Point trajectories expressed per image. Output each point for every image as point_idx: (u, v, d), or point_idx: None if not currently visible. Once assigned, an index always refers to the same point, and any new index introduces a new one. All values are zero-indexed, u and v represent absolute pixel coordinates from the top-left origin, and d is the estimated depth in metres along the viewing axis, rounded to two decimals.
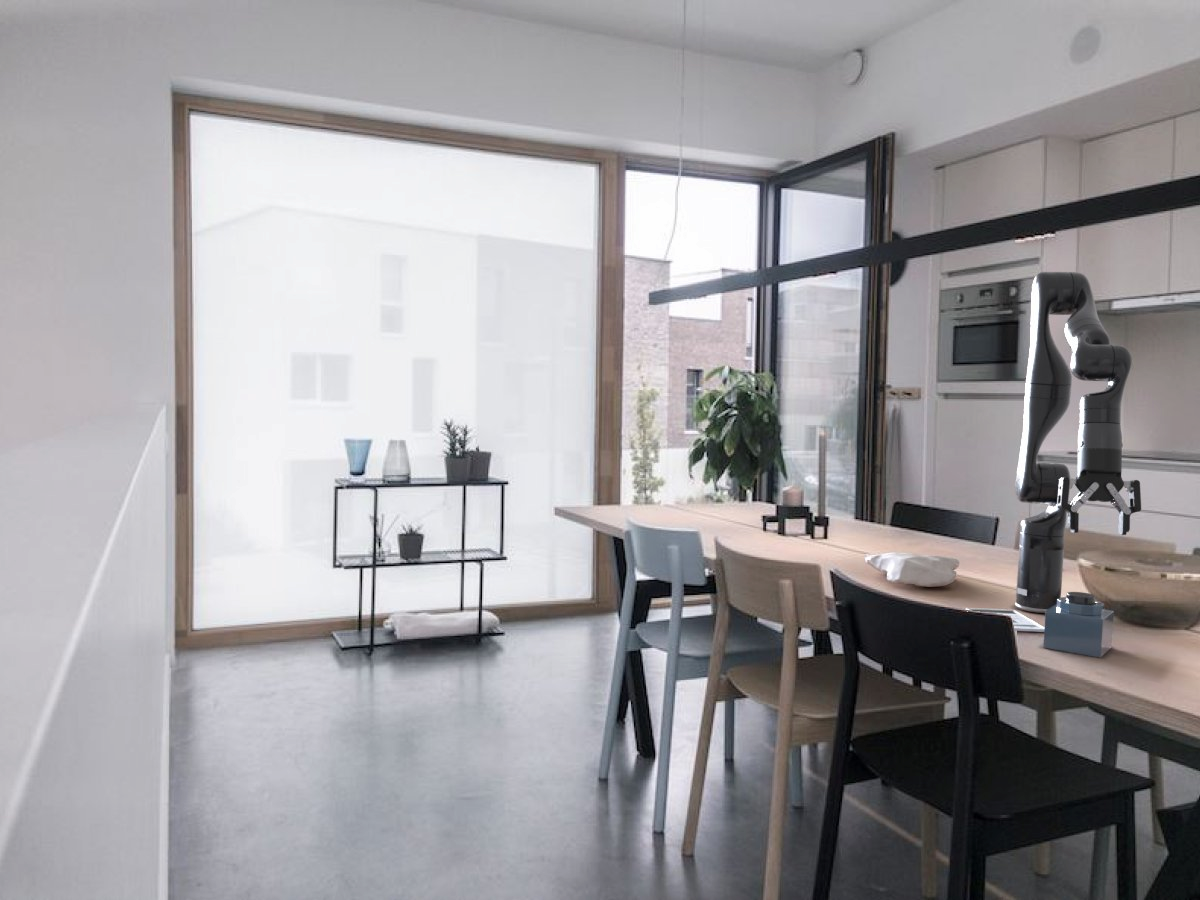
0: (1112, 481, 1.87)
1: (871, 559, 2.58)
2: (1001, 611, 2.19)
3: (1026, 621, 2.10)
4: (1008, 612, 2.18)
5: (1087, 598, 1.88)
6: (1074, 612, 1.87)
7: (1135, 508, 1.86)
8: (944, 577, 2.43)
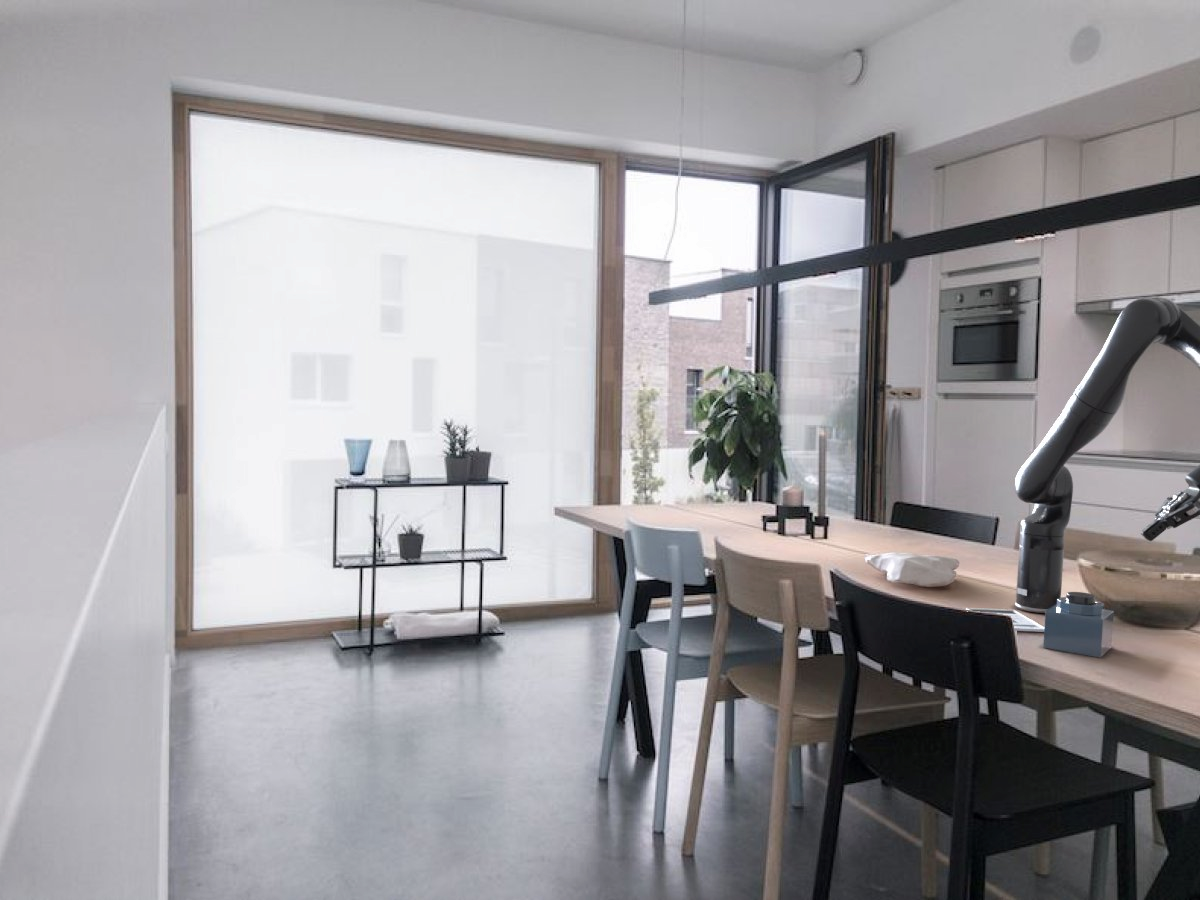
0: None
1: (871, 559, 2.58)
2: (1001, 611, 2.19)
3: (1026, 621, 2.10)
4: (1008, 612, 2.18)
5: (1087, 598, 1.88)
6: (1074, 612, 1.87)
7: None
8: (944, 577, 2.43)
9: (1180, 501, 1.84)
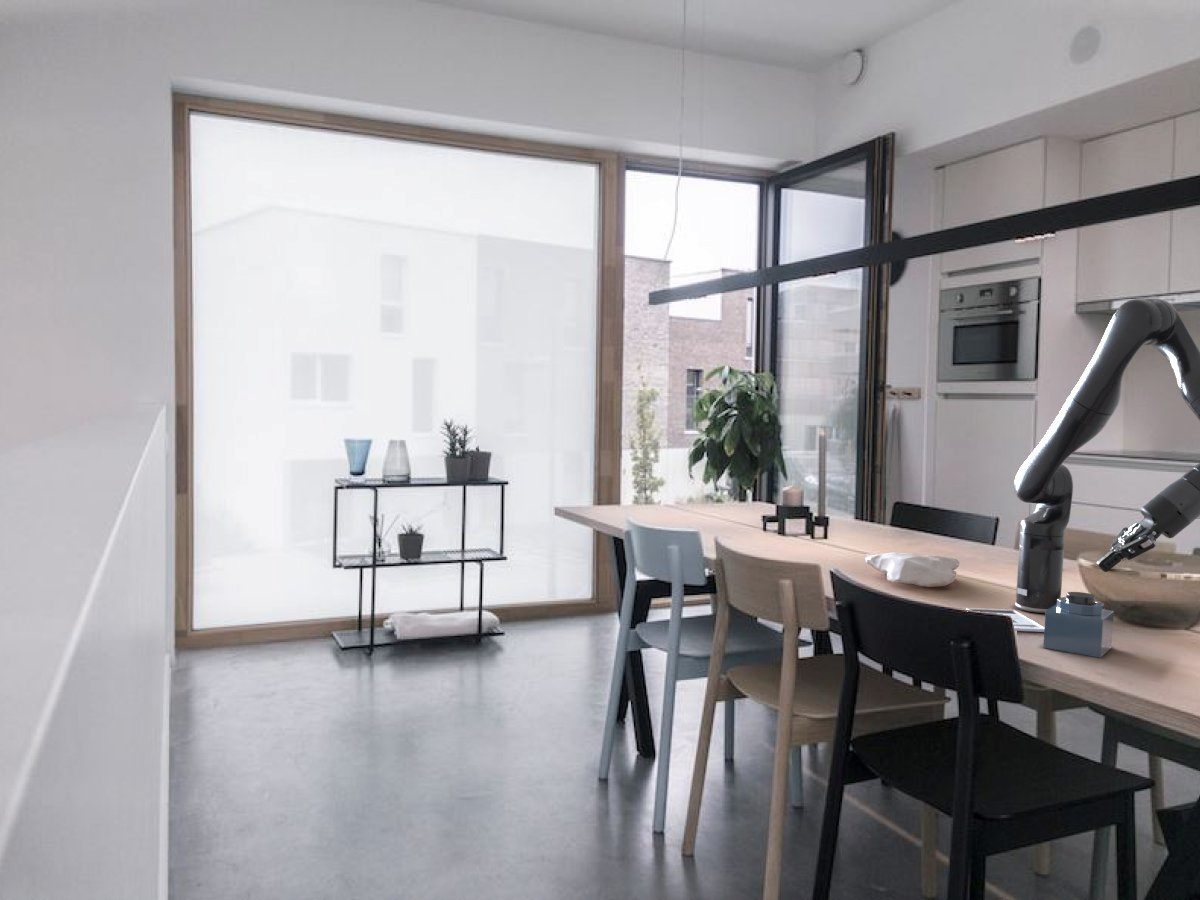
0: None
1: (871, 559, 2.58)
2: (1001, 611, 2.19)
3: (1026, 621, 2.10)
4: (1008, 612, 2.18)
5: (1087, 598, 1.88)
6: (1074, 612, 1.87)
7: None
8: (944, 577, 2.43)
9: (1135, 533, 1.86)
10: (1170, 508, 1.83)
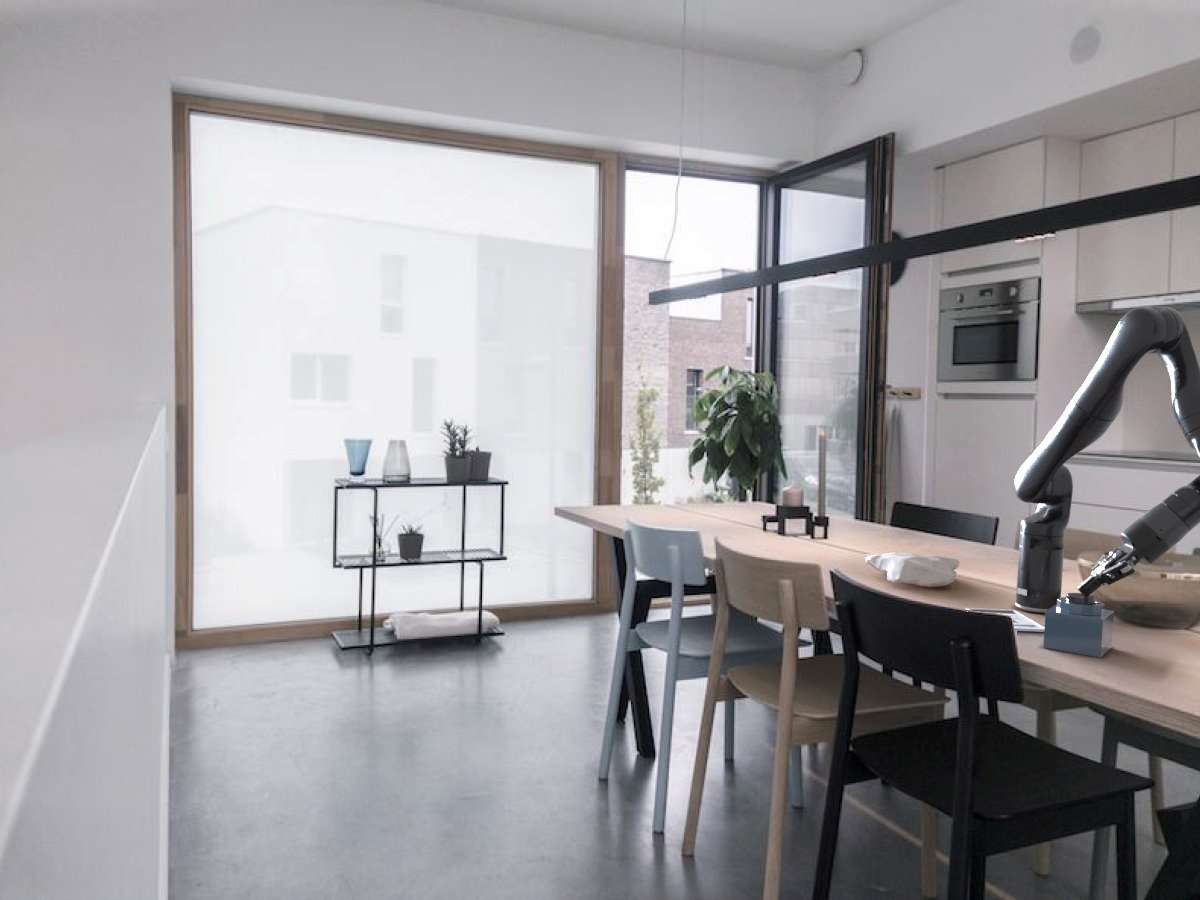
0: None
1: (871, 559, 2.58)
2: (1001, 611, 2.19)
3: (1026, 621, 2.10)
4: (1008, 612, 2.18)
5: (1087, 599, 1.88)
6: (1074, 612, 1.87)
7: None
8: (944, 577, 2.43)
9: (1115, 558, 1.87)
10: (1149, 533, 1.84)
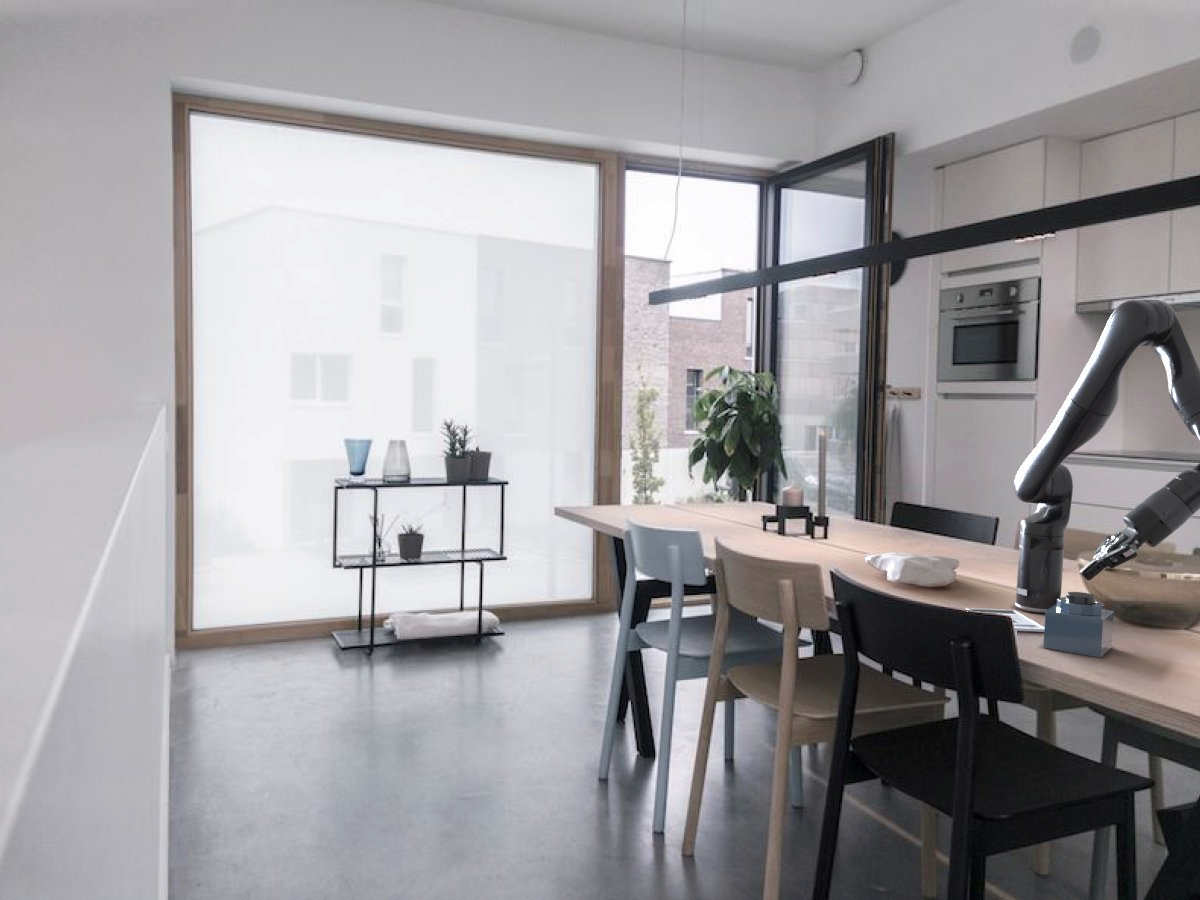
0: None
1: (871, 559, 2.58)
2: (1001, 611, 2.19)
3: (1026, 621, 2.10)
4: (1008, 612, 2.18)
5: (1087, 598, 1.88)
6: (1074, 612, 1.87)
7: None
8: (944, 577, 2.43)
9: (1117, 542, 1.87)
10: (1152, 517, 1.84)
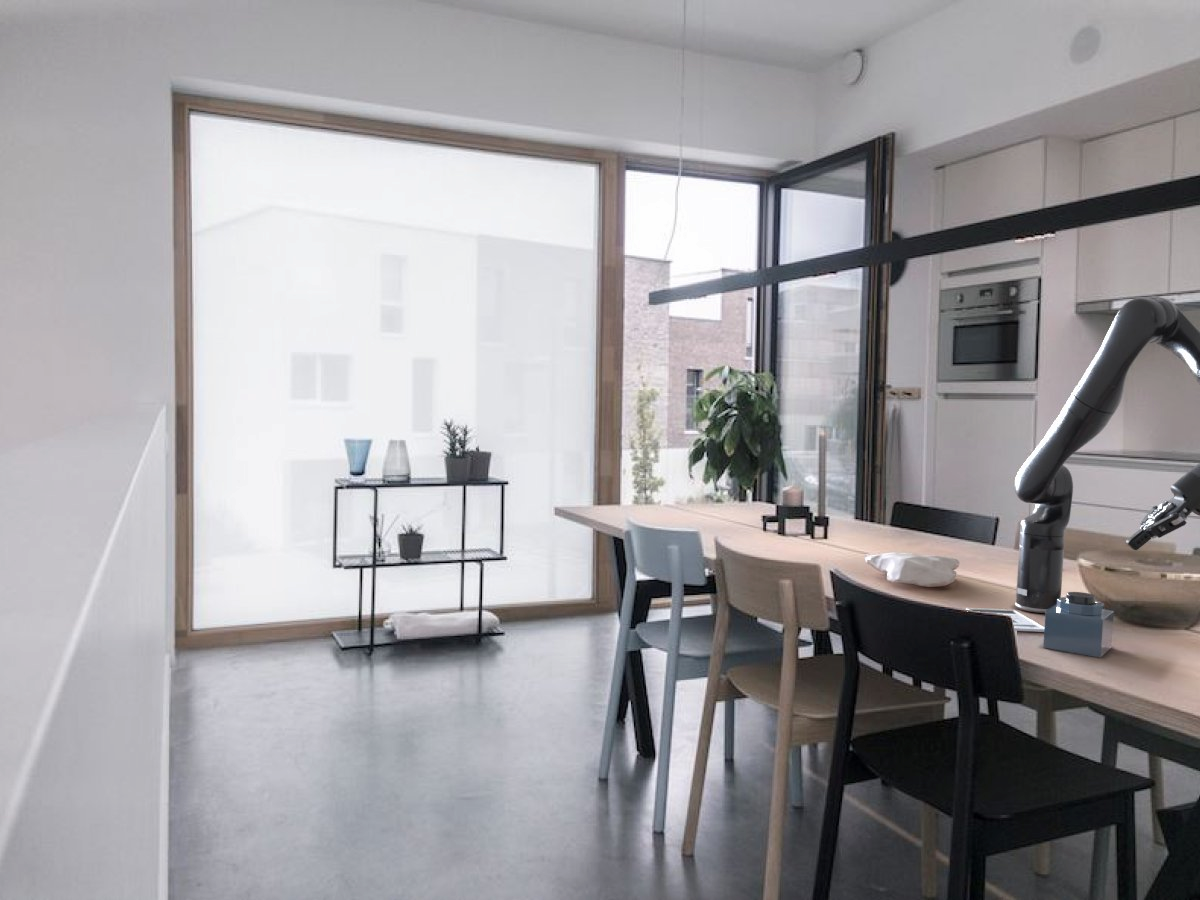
0: None
1: (871, 559, 2.58)
2: (1001, 611, 2.19)
3: (1026, 621, 2.10)
4: (1008, 612, 2.18)
5: (1087, 598, 1.88)
6: (1074, 612, 1.87)
7: None
8: (944, 577, 2.43)
9: (1165, 511, 1.85)
10: None
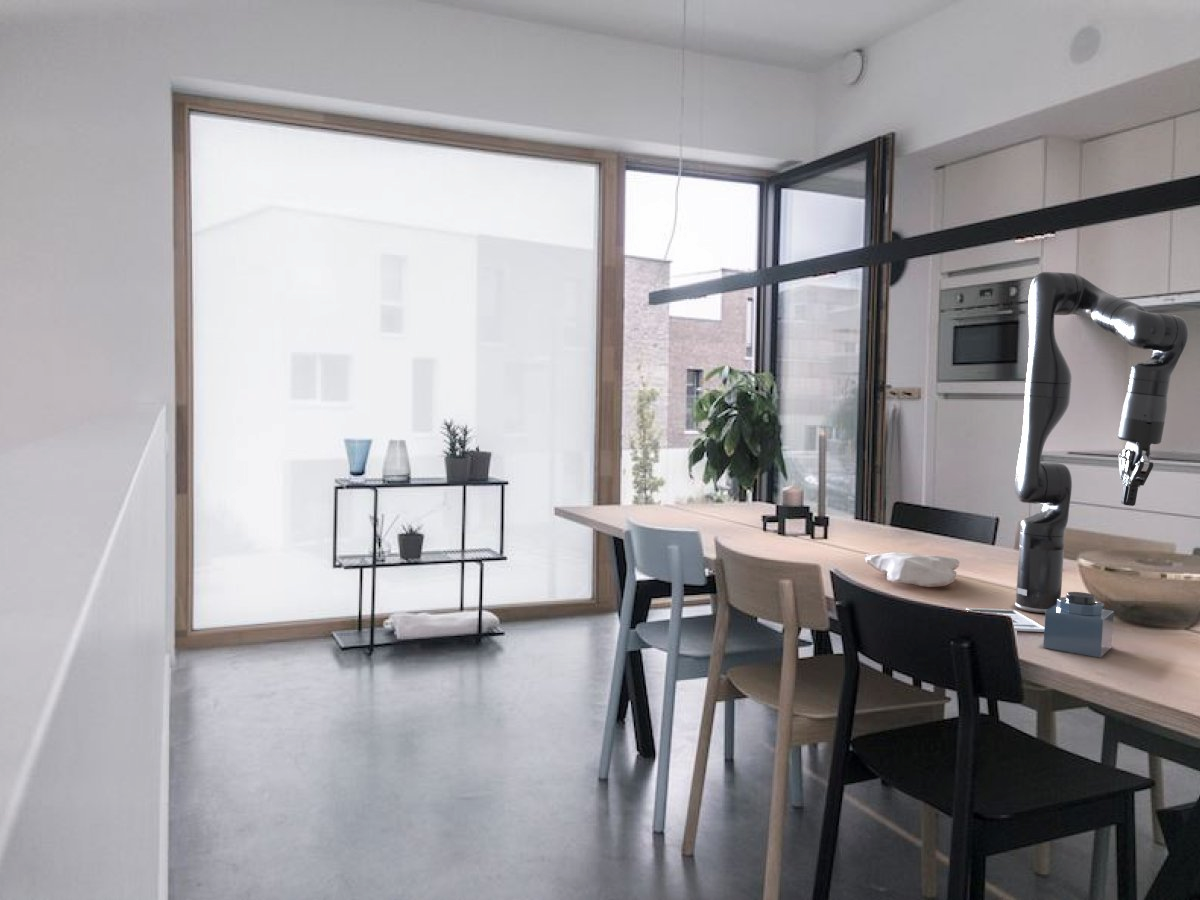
0: None
1: (871, 559, 2.58)
2: (1001, 611, 2.19)
3: (1026, 621, 2.10)
4: (1008, 612, 2.18)
5: (1087, 598, 1.88)
6: (1074, 612, 1.87)
7: None
8: (944, 577, 2.43)
9: (1130, 461, 1.92)
10: (1139, 424, 1.89)
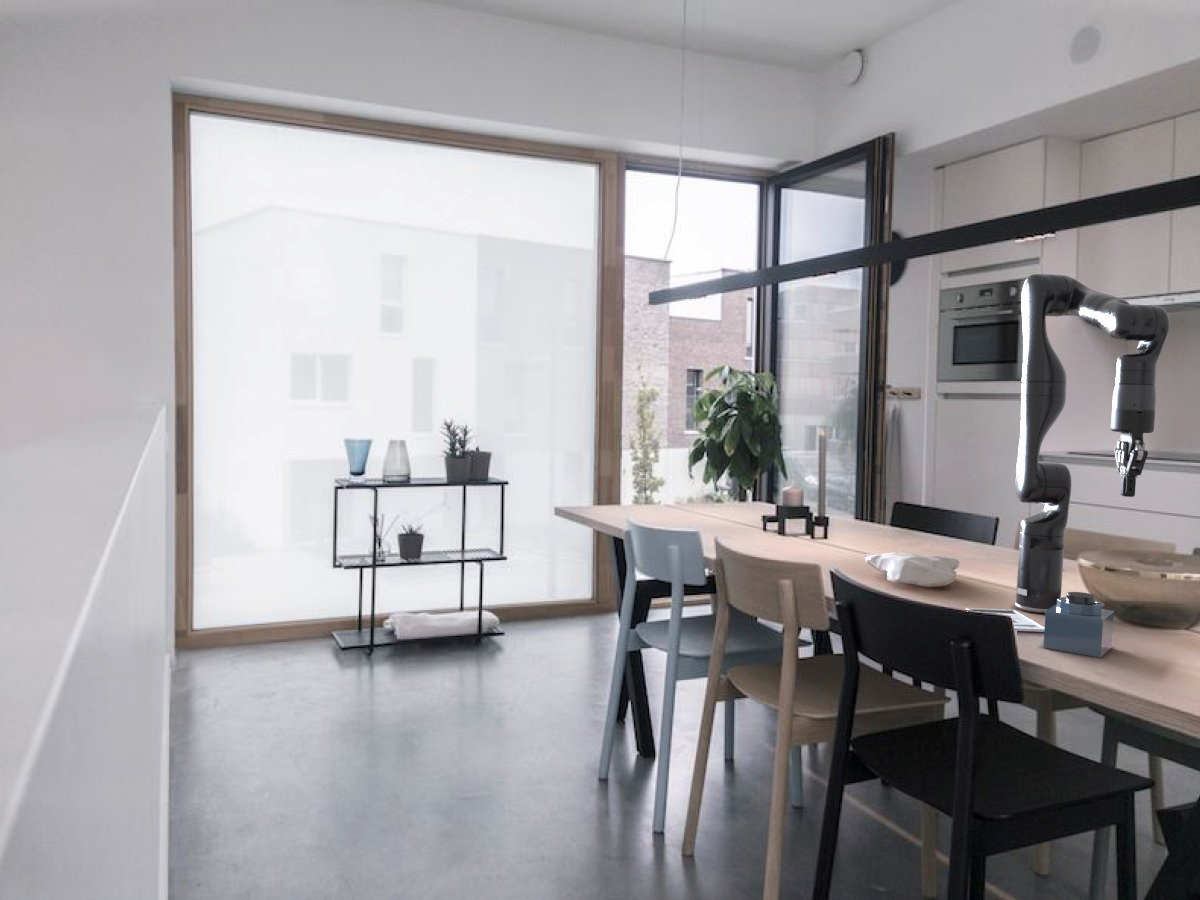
0: None
1: (871, 559, 2.58)
2: (1001, 611, 2.19)
3: (1026, 621, 2.10)
4: (1008, 612, 2.18)
5: (1087, 598, 1.88)
6: (1074, 612, 1.87)
7: None
8: (944, 577, 2.43)
9: (1125, 452, 1.93)
10: (1130, 414, 1.91)
